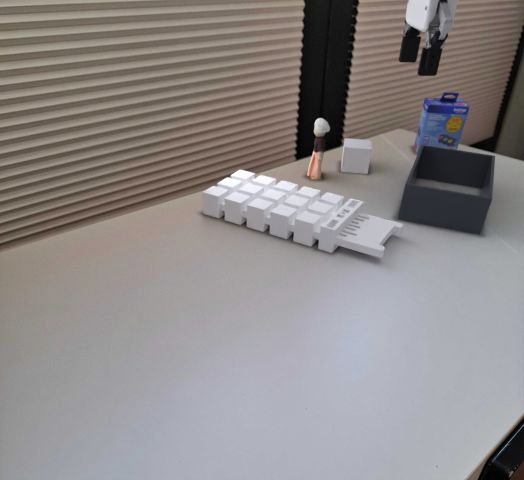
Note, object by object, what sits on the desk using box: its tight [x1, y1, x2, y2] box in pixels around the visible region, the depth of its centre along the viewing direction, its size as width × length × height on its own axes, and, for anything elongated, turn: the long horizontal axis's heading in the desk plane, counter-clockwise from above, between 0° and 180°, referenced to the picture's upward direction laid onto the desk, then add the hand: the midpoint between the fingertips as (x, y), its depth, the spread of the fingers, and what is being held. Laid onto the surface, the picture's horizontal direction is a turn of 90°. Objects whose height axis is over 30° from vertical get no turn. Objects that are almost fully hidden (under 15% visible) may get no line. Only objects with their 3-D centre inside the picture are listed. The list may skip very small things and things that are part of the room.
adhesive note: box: [340, 137, 373, 175], centre depth 115 cm, size 6×6×6 cm
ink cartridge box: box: [413, 91, 471, 155], centre depth 122 cm, size 10×6×14 cm, turn 88°
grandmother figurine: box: [306, 117, 331, 181], centre depth 108 cm, size 8×4×13 cm, turn 6°
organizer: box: [202, 169, 404, 259], centre depth 93 cm, size 13×5×35 cm
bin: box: [397, 145, 496, 236], centre depth 102 cm, size 23×15×8 cm, turn 159°
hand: (416, 68), depth 88 cm, fingers open, 9 cm apart
